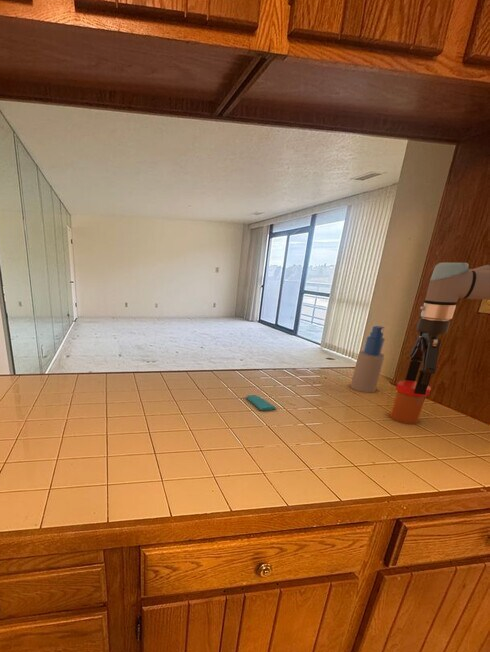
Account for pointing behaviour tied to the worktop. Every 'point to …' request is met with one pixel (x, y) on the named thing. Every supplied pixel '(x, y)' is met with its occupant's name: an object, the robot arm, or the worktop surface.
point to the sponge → (260, 402)
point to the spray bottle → (369, 362)
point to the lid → (410, 388)
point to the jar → (407, 408)
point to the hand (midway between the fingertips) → (414, 386)
